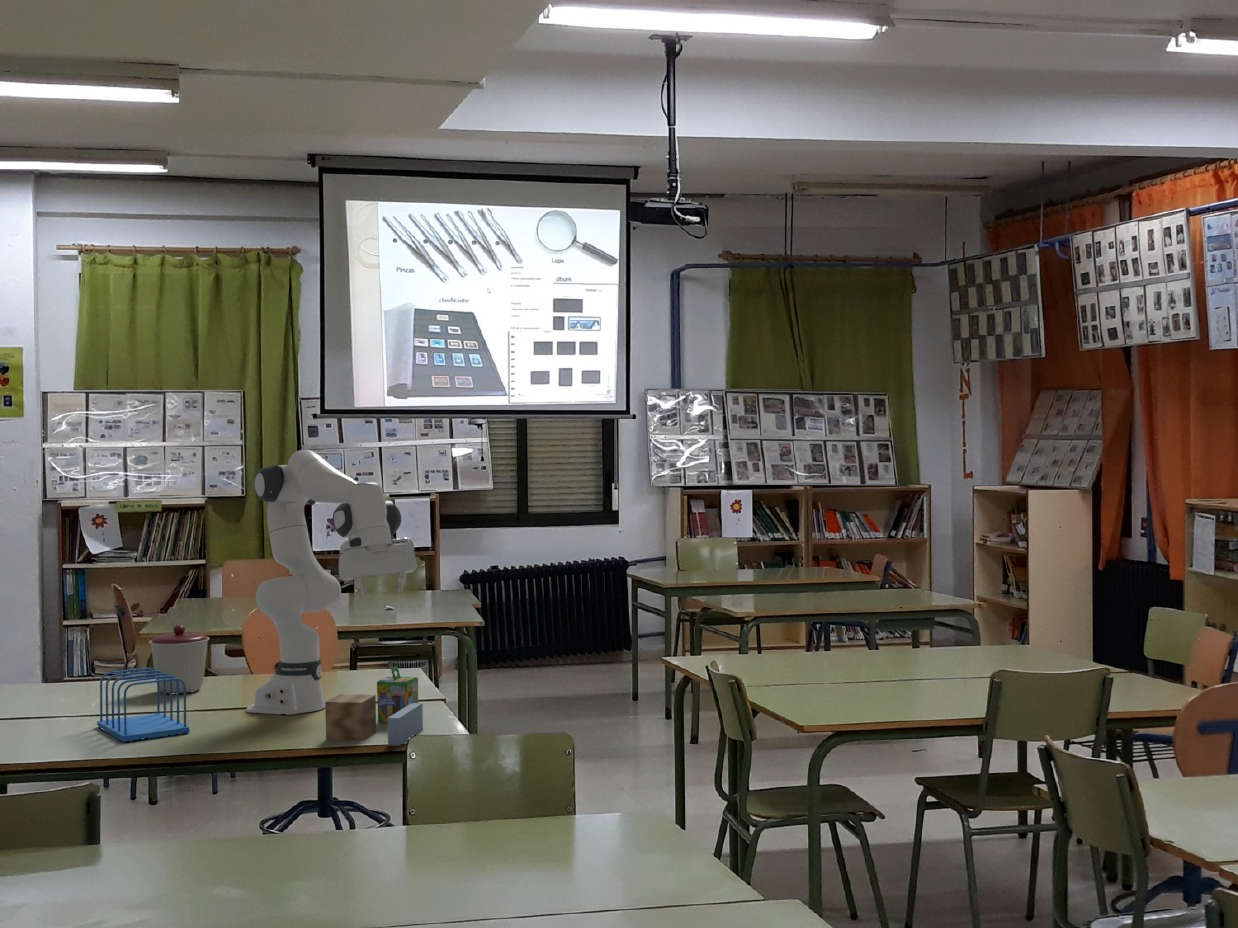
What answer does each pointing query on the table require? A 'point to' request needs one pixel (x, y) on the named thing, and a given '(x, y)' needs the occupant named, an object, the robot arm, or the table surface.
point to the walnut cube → (350, 717)
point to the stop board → (405, 724)
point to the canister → (180, 658)
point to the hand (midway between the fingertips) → (382, 592)
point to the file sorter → (142, 724)
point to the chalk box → (395, 694)
